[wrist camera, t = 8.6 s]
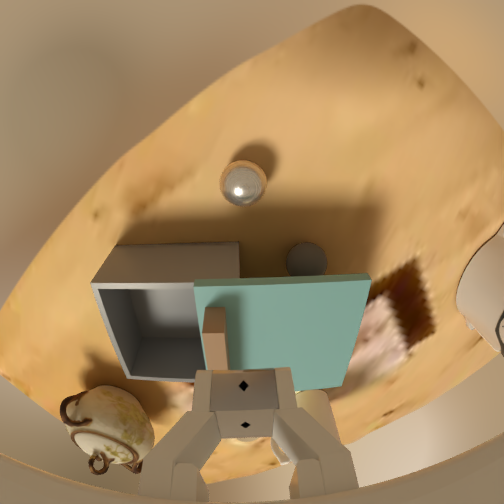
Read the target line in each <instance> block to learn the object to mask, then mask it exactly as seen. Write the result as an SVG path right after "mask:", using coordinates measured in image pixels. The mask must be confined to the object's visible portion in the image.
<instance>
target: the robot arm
mask: <svg viewBox="0 0 504 504" xmlns="http://www.w3.org/2000/svg"><path fill="white" fill-rule="evenodd" d="M456 304H457V308H458V310H459V312H460V313H461V314H462V315H463V316H464V317H465V318H466V325H467V327H468V328H469V329H470V330H473V329H476V330H477V331H478V332H479V333H480V335H481V336H482V337H483V338H484V339H485V340H486V341H487V342H488V343H489V344H490V345H491V346H492V348H493V349H494V350H495V351H498V352H499V351H501V354H502V355H503V357H504V224H503V226H502V227H501V229H500V230H499V231H498V233H497V234H496V235H495V236H494V237H493V238H492V239H491V240H489V241H488V242H487V243H486V244H485V245H484V246H483V247H482V248H481V249H480V250H479V251H478V252H477V253H476V254H475V256H474V257H473V258H472V260H471V261H470V263H469V264H468V266H467V268H466V269H465V271H464V273H463V275H462V278H461V280H460V283H459V286H458V290H457V295H456ZM245 437H272V438H273V439H274V440H275V442H276V443H277V444H278V445H279V447H280V448H281V449H282V450H283V451H284V453H285V454H286V455H287V456H288V457H289V459H290V460H291V461H292V462H293V463H294V464H295V466H296V467H295V471H294V473H293V476H292V479H291V483H290V486H289V491H290V499H289V500H279V501H265V502H242V503H218V502H209V489H208V487H207V485H206V484H205V482H204V480H203V478H202V476H201V474H200V472H199V471H200V470H201V468H202V467H203V465H204V464H205V463H206V461H207V460H208V458H209V457H210V455H211V454H212V453H213V451H214V450H215V448H216V447H217V445H218V444H219V442H220V441H221V438H245ZM0 504H504V432H503V433H501V434H499V435H497V436H496V437H494V438H492V439H490V440H488V441H486V442H484V443H483V444H480V445H478V446H476V447H474V448H472V449H470V450H468V451H466V452H464V453H461V454H459V455H457V456H455V457H452V458H450V459H448V460H445V461H443V462H440V463H438V464H435V465H433V466H430V467H428V468H425V469H422V470H419V471H417V472H413V473H410V474H408V475H404V476H401V477H398V478H394V479H391V480H388V481H384V482H381V483H377V484H373V485H369V486H365V487H361V488H359V486H358V481H357V477H356V473H355V469H354V465H353V461H352V457H351V453H350V451H349V450H348V449H347V448H346V447H345V446H343V445H342V444H341V443H340V442H339V441H338V440H337V439H336V438H335V437H333V436H332V435H331V434H330V433H329V432H328V431H327V430H326V429H325V428H324V427H323V426H321V425H320V424H319V423H318V422H317V421H316V420H315V419H314V418H313V417H312V416H311V415H310V414H309V413H308V412H307V411H306V410H304V409H303V408H302V407H297V401H296V396H295V390H294V384H293V379H292V373H291V369H290V367H280V368H261V369H244V370H197V372H196V375H195V384H194V394H193V404H192V411H187V412H186V413H185V414H184V415H183V416H182V418H181V419H180V420H179V421H178V422H177V423H176V424H175V425H174V426H173V427H172V428H171V430H170V431H169V432H168V433H167V434H166V435H165V436H164V437H163V438H162V439H161V440H160V441H159V442H158V443H157V444H156V446H155V447H154V448H153V449H152V450H151V451H150V452H149V453H148V454H147V455H146V456H145V457H144V458H143V464H142V470H141V477H140V483H139V490H138V495H133V494H128V493H123V492H118V491H113V490H108V489H104V488H100V487H96V486H92V485H88V484H84V483H80V482H77V481H74V480H70V479H67V478H64V477H61V476H57V475H54V474H51V473H49V472H46V471H43V470H40V469H37V468H35V467H32V466H30V465H27V464H25V463H22V462H20V461H18V460H15V459H13V458H11V457H8V456H6V455H4V454H2V453H0Z"/></svg>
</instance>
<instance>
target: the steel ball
mask: <svg viewBox="0 0 504 504" xmlns="http://www.w3.org/2000/svg"><path fill="white" fill-rule="evenodd" d="M266 188H267V179H266V175H265V173H264V171H263V170H262V168H261V167H260V166H259V165H257V164H256V163H254V162H252V161H248V160H238V161H235V162H233V163H231V164H229V165H228V166H227V167H226V168H225V169H224V170H223V172H222V174H221V177H220V190H221V193H222V195H223V196H224V198H225V199H226V200H227V201H228V202H229V203H231V204H233V205H235V206H240V207H247V206H251V205H253V204H255V203H257V202H258V201H259V200H260V199H261V198H262V197H263V195H264V194H265V191H266Z"/></svg>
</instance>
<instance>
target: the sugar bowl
mask: <svg viewBox="0 0 504 504" xmlns="http://www.w3.org/2000/svg"><path fill="white" fill-rule="evenodd" d="M60 415H61V418H62V421H63V422H64V423H65V425H66V429H67V431H68V433H69V435H70V436H71V439H72V441H73V442H74V443H75V444H76V445H77V446H78V447H79V448H80V449H82V450H83V451H84V452H86V453H87V454H89V455H90V456H91V457H90V459H89V462H88V463H89V468H90V471H91V473H93V474H95V475H101V474H104V473H106V472H107V470H108V468H109V464H110V463H114V464H121V465H123V466H124V467H126V468H127V469H128V470H130V471H131V472H133V473H135V474H138V473H141V470H142V464H143V458H144V457H145V456H146V455H147V454H148V453H149V452H150V451H151V450H152V447H153V445H154V439H155V437H154V430H153V428H152V425H151V423H150V420H149V418H148V417H147V415H146V413H145V412H144V410H143V409H142V407H141V405H140V403H139V401H138V400H137V399H136V398H135V397H134V396H133V395H132V394H130V393H129V392H127V391H125V390H123V389H120V388H118V387H114V386H109V385H101V386H97V387H96V388H94V389H92V390H89V391H84V392H81V393H79V394H77V395H73V396H70V397H67V398H65V399H64V400H63V401H62V403H61V406H60ZM95 459H96V460H97V461H103V462H104V467H103V468H102V469H101V470H99V471H98V470H95V468H94V467H93V463H94V460H95ZM128 464H132V467H131V466H129V465H128ZM138 464H139V466H138V468H137V465H138Z"/></svg>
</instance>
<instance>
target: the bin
mask: <svg viewBox="0 0 504 504" xmlns="http://www.w3.org/2000/svg"><path fill="white" fill-rule="evenodd" d="M232 278H240V262H239V242H207V243H174V244H144V245H117V246H115V247H114V248H113V250H112V251H111V253H110V254H109V256H108V257H107V258H106V260H105V261H104V263H103V264H102V266H101V267H100V269H99V270H98V272H97V273H96V275H95V277H94V278H93V280H92V281H91V287H92V290H93V293H94V296H95V299H96V302H97V305H98V308H99V310H100V313H101V316H102V319H103V321H104V324H105V327H106V329H107V332H108V335H109V337H110V340H111V342H112V345H113V347H114V350H115V352H116V354H117V357H118V359H119V361H120V364H121V366H122V368H123V371H124V373H125V375H126V377H127V379H137V380H152V381H170V382H195V375H196V372H197V370H206V366H205V360H204V354H203V348H202V342H201V336H200V329H199V323H198V316H197V309H196V302H195V295H194V287H193V286H194V281H195V279H232Z"/></svg>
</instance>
